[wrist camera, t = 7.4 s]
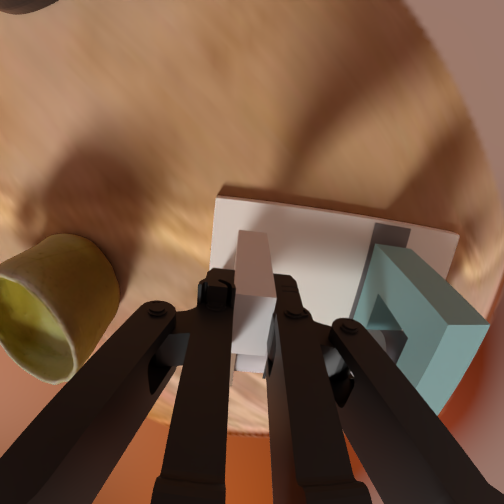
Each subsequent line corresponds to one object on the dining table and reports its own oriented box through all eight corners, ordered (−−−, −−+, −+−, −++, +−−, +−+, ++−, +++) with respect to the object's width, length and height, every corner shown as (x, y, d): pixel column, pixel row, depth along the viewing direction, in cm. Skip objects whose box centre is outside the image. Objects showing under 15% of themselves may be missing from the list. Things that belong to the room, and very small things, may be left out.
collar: (336, 366, 25) (366, 463, 16) (375, 243, 21) (448, 324, 12) (368, 366, 25) (405, 458, 16) (410, 248, 21) (490, 324, 12)
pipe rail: (204, 357, 27) (191, 432, 19) (217, 195, 21) (199, 235, 14) (402, 367, 28) (433, 428, 20) (454, 232, 22) (517, 275, 15)
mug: (143, 238, 21) (46, 349, 13) (137, 325, 27) (78, 415, 19) (26, 181, 21) (-64, 249, 13) (40, 268, 27) (-22, 334, 20)
